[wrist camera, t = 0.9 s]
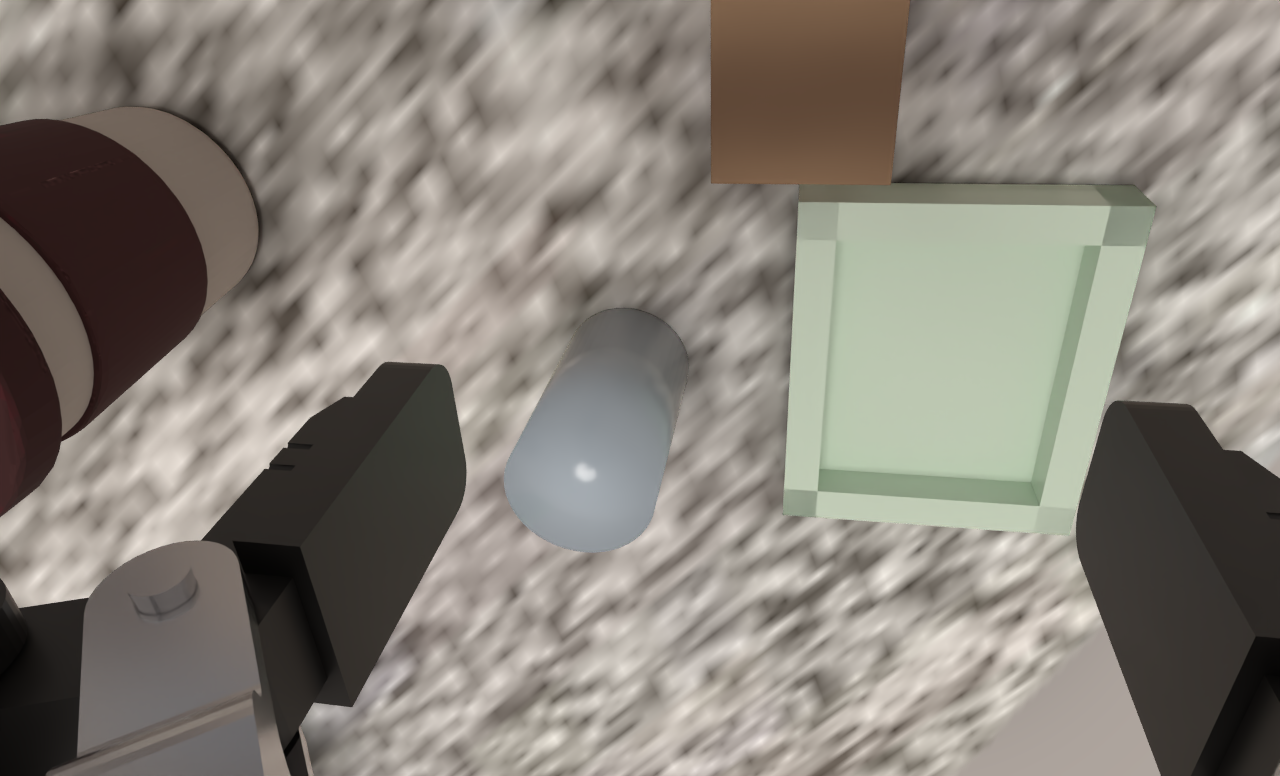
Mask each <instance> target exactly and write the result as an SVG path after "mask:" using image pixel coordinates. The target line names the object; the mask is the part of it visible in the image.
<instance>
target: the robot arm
mask: <svg viewBox="0 0 1280 776" xmlns="http://www.w3.org/2000/svg"><path fill="white" fill-rule="evenodd" d="M465 486H466V460H465V454H464V449H463V443H462V438H461V432H460V427H459V421H458V416H457V410H456V405H455V399H454V394H453V388H452V383H451V378H450V376H449V373H448V371H447V369H446V368H445V367H444V366H443V365H439V364H420V363H400V362H385V363H383V364H382V365H380V366H379V367H378V369H377V370H376V371H375V372H374V373H373V375H372V376H371V377H370V378H369V379H368V380H367V382H366V383H365V384H364V385H363V386H362V388H361V389H360V390H359V391H358V392H357V393H356V395H355V396H354V397H343V398H342V399H340V400H338V401H337V402H335V403H334V404H332V405H330V406H329V407H327V408H325V409H324V410H322V411H320V412H319V413H317V414H316V415H314V416H312V417H311V418H310V419H309V420H308V421H307V422H306V423H305V424H304V425H303V426H302V428H301V429H300V430H299V431H298V432H297V433H296V434H295V435H294V437H293V438H292V439H291V440H290V441H289V442H288V448H283V449H282V450H281V451H280V452H279V453H278V455H277V456H276V457H275V458H274V459H273V460H272V461H271V462H270V467H269V469H264V470H263V471H262V473H261V474H260V475H259V476H258V477H257V478H256V479H255V480H254V481H253V483H252V484H251V485H250V486H249V487H248V488H247V489H246V490H245V492H244V493H243V494H242V495H241V496H240V497H239V498H238V499H237V501H236V502H235V503H234V504H233V505H232V506H231V507H230V508H229V510H228V511H227V512H226V513H225V514H224V515H223V516H222V517H221V519H220V520H219V521H218V522H217V523H216V524H215V525H214V526H213V528H212V529H211V530H210V531H209V532H208V533H207V534H206V535H205V536H204V538H203V539H202V540H201V541H184V542H178V543H173V544H169V545H165V546H162V547H159V548H156V549H153V550H150V551H148V552H146V553H143V554H141V555H139V556H137V557H135V558H133V559H131V560H130V561H128V562H126V563H124V564H123V565H121V566H120V567H119V568H117V569H116V570H114V571H113V572H112V573H111V574H109V575H108V576H107V577H106V578H105V579H104V580H103V581H102V582H101V583H100V584H99V585H98V586H97V587H96V588H95V590H94V591H93V593H92V594H91V596H90V597H89V598H84V599H77V600H71V601H64V602H57V603H51V604H44V605H37V606H31V607H24V608H18V606H17V605H16V603H15V601H14V599H13V598H12V596H11V594H10V592H9V591H8V589H7V587H6V586H5V584H4V583H3V581H2V580H1V579H0V776H314V775H313V771H312V766H311V762H310V757H309V752H308V748H307V743H306V739H305V736H304V734H303V731H302V728H301V726H300V725H301V723H302V721H303V720H304V718H305V716H306V715H307V713H308V711H309V709H310V708H311V706H312V704H313V703H322V704H330V705H338V706H347V707H353V705H354V703H355V701H356V699H357V697H358V695H359V694H360V692H361V690H362V688H363V686H364V684H365V683H366V681H367V679H368V677H369V675H370V673H371V671H372V670H373V668H374V666H375V664H376V662H377V660H378V658H379V657H380V655H381V653H382V651H383V649H384V647H385V646H386V644H387V642H388V640H389V638H390V636H391V634H392V633H393V631H394V629H395V627H396V625H397V623H398V621H399V620H400V618H401V616H402V614H403V612H404V610H405V608H406V607H407V605H408V603H409V601H410V599H411V597H412V596H413V594H414V592H415V590H416V588H417V586H418V584H419V583H420V581H421V579H422V577H423V575H424V573H425V571H426V570H427V568H428V566H429V564H430V562H431V560H432V559H433V557H434V555H435V553H436V551H437V549H438V547H439V546H440V544H441V542H442V540H443V538H444V536H445V534H446V533H447V531H448V529H449V527H450V525H451V523H452V521H453V520H454V518H455V516H456V514H457V512H458V510H459V508H460V506H461V503H462V500H463V497H464V492H465ZM1076 540H1077V549H1078V554H1079V558H1080V561H1081V564H1082V567H1083V569H1084V572H1085V575H1086V577H1087V580H1088V583H1089V585H1090V588H1091V591H1092V593H1093V596H1094V599H1095V601H1096V604H1097V607H1098V609H1099V612H1100V615H1101V617H1102V620H1103V623H1104V625H1105V628H1106V631H1107V633H1108V636H1109V638H1110V641H1111V644H1112V646H1113V649H1114V652H1115V654H1116V657H1117V659H1118V662H1119V665H1120V668H1121V670H1122V673H1123V676H1124V678H1125V681H1126V684H1127V686H1128V689H1129V692H1130V694H1131V697H1132V700H1133V702H1134V705H1135V708H1136V710H1137V713H1138V716H1139V718H1140V721H1141V724H1142V726H1143V729H1144V732H1145V734H1146V737H1147V739H1148V742H1149V745H1150V747H1151V750H1152V753H1153V755H1154V758H1155V761H1156V763H1157V766H1158V769H1159V771H1160V774H1161V776H1280V478H1278V477H1277V476H1275V475H1274V474H1272V473H1271V472H1270V471H1268V470H1267V469H1266V468H1264V467H1263V466H1261V465H1260V464H1259V463H1257V462H1256V461H1254V460H1253V459H1252V458H1250V457H1249V456H1247V455H1246V454H1244V453H1243V452H1242V451H1232V450H1223V449H1222V447H1221V446H1220V444H1219V443H1218V442H1217V440H1216V439H1215V437H1214V436H1213V434H1212V433H1211V431H1210V430H1209V428H1208V427H1207V426H1206V424H1205V423H1204V421H1203V420H1202V418H1201V417H1200V415H1199V414H1198V412H1197V411H1196V410H1195V409H1194V407H1192V406H1191V405H1188V404H1176V403H1156V402H1137V401H1115V402H1113V403H1112V404H1111V405H1110V406H1109V408H1108V409H1107V411H1106V413H1105V416H1104V419H1103V422H1102V426H1101V429H1100V433H1099V436H1098V440H1097V443H1096V447H1095V450H1094V454H1093V457H1092V461H1091V464H1090V468H1089V472H1088V475H1087V479H1086V482H1085V486H1084V489H1083V493H1082V496H1081V500H1080V503H1079V508H1078V513H1077V521H1076Z"/></svg>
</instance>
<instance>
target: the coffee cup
mask: <svg viewBox="0 0 1280 776" xmlns="http://www.w3.org/2000/svg"><path fill="white" fill-rule="evenodd" d="M258 234H259V230H258V220H257V213H256V209H255V205H254V202H253V199H252V196H251V194H250V191H249V189H248V187H247V185H246V183H245V181H244V179H243V177H242V175H241V173H240V172H239V170H238V169H237V168H236V166H235V165H234V163H233V162H232V161H231V159H230V158H229V157H228V156H227V155H226V153H225V152H224V151H223V150H222V149H221V148H220V147H219V146H218V145H217V144H216V143H215V142H214V141H213V140H211V139H210V138H209V137H208V136H207V135H206V134H204V133H203V132H202V131H200V130H199V129H197V128H196V127H194V126H193V125H191V124H190V123H188V122H186V121H184V120H183V119H180V118H178V117H176V116H174V115H172V114H169V113H166V112H163V111H160V110H156V109H151V108H146V107H118V108H112V109H108V110H103V111H99V112H95V113H90V114H86V115H81V116H77V117H72V118H68V119H63V120H50V119H34V120H25V121H20V122H15V123H11V124H6V125H1V126H0V517H1V516H2V515H4V514H5V513H6V512H7V511H9V510H10V509H11V508H12V507H14V506H15V505H16V504H18V503H19V502H20V501H21V500H23V499H24V498H25V497H26V496H28V495H29V494H30V493H31V492H33V491H34V490H35V489H36V488H37V487H38V486H40V484H41V483H42V481H43V480H44V479H45V477H46V476H47V475H48V473H49V472H50V471H51V469H52V468H53V466H54V464H55V461H56V458H57V456H58V453H59V449H60V444H61V441H63V440H65V439H67V438H69V437H71V436H73V435H75V434H76V433H78V432H79V431H81V430H82V429H83V428H85V427H86V426H87V425H88V424H89V423H90V422H91V421H93V420H94V419H95V418H96V417H97V416H98V415H99V414H100V413H102V412H103V411H104V410H105V409H106V408H107V407H108V406H109V405H111V404H112V403H113V402H114V401H115V400H116V399H117V398H118V397H120V396H121V395H122V394H123V393H124V392H125V391H126V390H127V389H129V388H130V387H131V386H132V385H133V384H134V383H135V382H136V381H137V380H139V379H140V378H141V377H142V376H143V375H144V374H145V373H146V372H148V371H149V370H150V369H151V368H152V367H153V366H154V365H155V364H157V363H158V362H159V361H160V360H161V359H162V358H163V357H164V356H166V355H167V354H168V353H169V352H170V351H171V350H172V349H173V348H175V347H176V346H177V345H178V344H179V343H180V342H181V341H182V340H183V339H185V338H186V337H187V335H188V334H189V333H190V332H191V331H192V330H193V328H194V327H195V325H196V324H197V322H198V321H199V319H200V317H201V315H202V314H203V313H204V312H206V311H207V310H208V309H209V308H210V307H211V306H212V305H214V304H215V303H216V302H217V301H218V300H219V299H220V298H222V297H223V296H224V295H225V294H226V293H227V292H229V291H230V290H231V289H232V288H233V287H234V286H235V285H237V284H238V282H239V281H240V280H241V279H242V278H243V277H244V276H245V274H246V273H247V271H248V270H249V268H250V266H251V264H252V263H253V260H254V257H255V254H256V251H257V244H258Z"/></svg>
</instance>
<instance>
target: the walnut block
mask: <svg viewBox="0 0 1280 776" xmlns="http://www.w3.org/2000/svg"><path fill="white" fill-rule="evenodd" d="M909 5H910V0H711V183H717V184H818V185H891V177H892V168H893V158H894V149H895V139H896V130H897V120H898V111H899V101H900V91H901V82H902V72H903V63H904V53H905V44H906V34H907V24H908V15H909Z"/></svg>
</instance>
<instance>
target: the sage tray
mask: <svg viewBox="0 0 1280 776" xmlns="http://www.w3.org/2000/svg"><path fill="white" fill-rule="evenodd" d="M1155 210H1156V206H1155V205H1154V204H1153V203H1152V202H1151V201H1150V200H1149V199H1148V198H1147V197H1146V196H1145V195H1144V194H1143V193H1142V192H1141V191H1140V190H1139V189H1138V188H1137V187H1136V186H1135V185H1049V184H937V183H891V185H818V184H799V202H798V222H797V242H796V262H795V281H794V301H793V321H792V341H791V361H790V381H789V400H788V420H787V440H786V460H785V480H784V500H783V515H791V516H805V517H819V518H832V519H846V520H860V521H874V522H887V523H901V524H915V525H928V526H942V527H956V528H970V529H983V530H997V531H1011V532H1024V533H1038V534H1052V535H1066V536H1069V535H1070V531H1071V528H1072V524H1073V520H1074V516H1075V513H1076V509H1077V505H1078V501H1079V497H1080V494H1081V490H1082V486H1083V482H1084V479H1085V475H1086V471H1087V467H1088V463H1089V460H1090V456H1091V452H1092V448H1093V445H1094V441H1095V437H1096V433H1097V429H1098V426H1099V422H1100V418H1101V414H1102V411H1103V407H1104V403H1105V399H1106V395H1107V392H1108V388H1109V384H1110V380H1111V377H1112V373H1113V369H1114V365H1115V361H1116V358H1117V354H1118V350H1119V346H1120V343H1121V339H1122V335H1123V331H1124V327H1125V324H1126V320H1127V316H1128V312H1129V309H1130V305H1131V301H1132V297H1133V294H1134V290H1135V286H1136V282H1137V278H1138V275H1139V271H1140V267H1141V263H1142V260H1143V256H1144V252H1145V248H1146V244H1147V241H1148V237H1149V233H1150V229H1151V226H1152V222H1153V218H1154V214H1155Z"/></svg>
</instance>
